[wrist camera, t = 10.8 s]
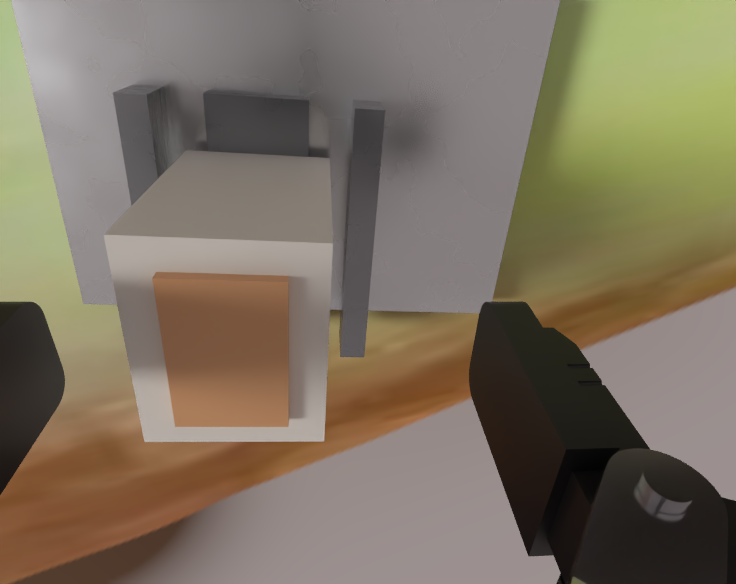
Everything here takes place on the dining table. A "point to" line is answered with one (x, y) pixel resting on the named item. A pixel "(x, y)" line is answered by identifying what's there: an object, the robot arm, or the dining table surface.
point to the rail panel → (303, 124)
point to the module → (228, 297)
